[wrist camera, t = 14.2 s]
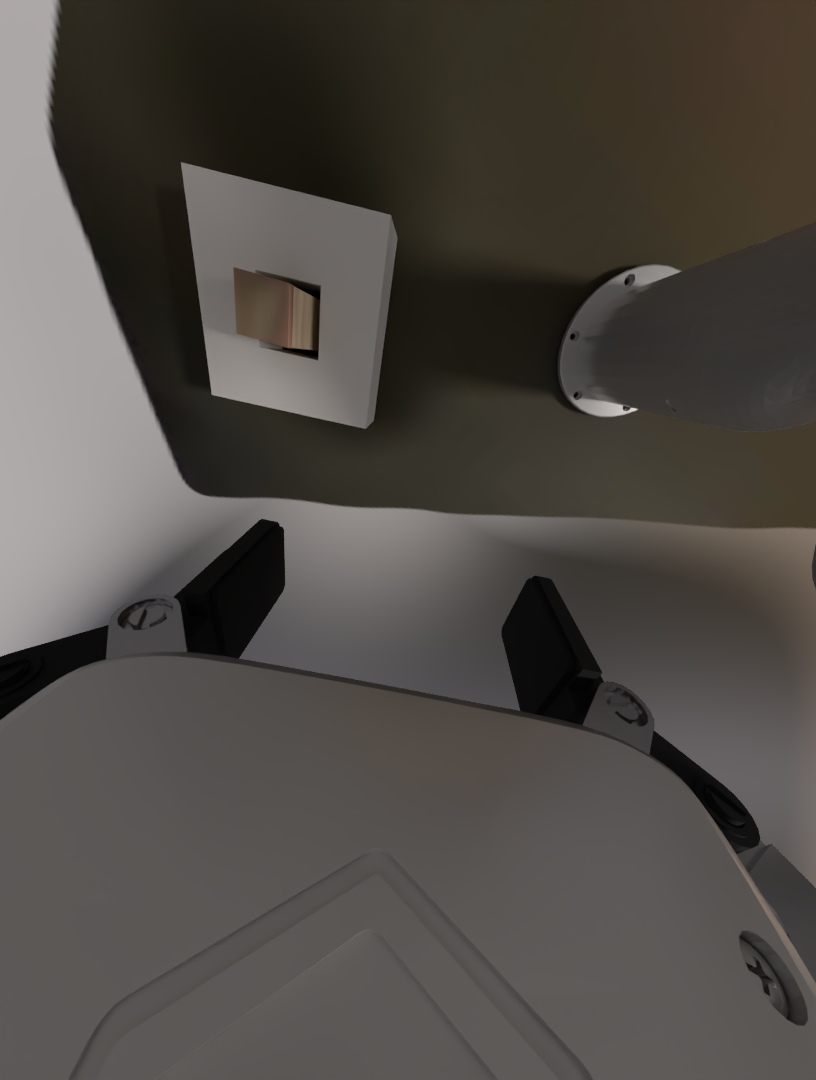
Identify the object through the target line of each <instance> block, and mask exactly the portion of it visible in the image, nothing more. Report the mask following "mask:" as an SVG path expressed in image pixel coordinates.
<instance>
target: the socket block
mask: <svg viewBox="0 0 816 1080" xmlns="http://www.w3.org/2000/svg"><path fill="white" fill-rule="evenodd" d="M181 167H182V174H183V182H184V189H185V197H186V204H187V212H188V219H189V227H190V234H191V241H192V249H193V256H194V264H195V271H196V279H197V286H198V294H199V301H200V309H201V316H202V324H203V331H204V339H205V346H206V354H207V361H208V369H209V376H210V384H211V391H212V395H215V396H220V397H224V398H229V399H233V400H238V401H242V402H247V403H251V404H256V405H260V406H265V407H269V408H274V409H278V410H283V411H287V412H292V413H296V414H301V415H305V416H310V417H314V418H319V419H323V420H328V421H332V422H337V423H341V424H346V425H350V426H355V427H359V428H364V429H366V428H367V427H368V426H369V425H370V424H371V423H372V422H373V421H374V415H375V408H376V400H377V392H378V385H379V377H380V369H381V362H382V354H383V346H384V338H385V331H386V323H387V315H388V308H389V300H390V292H391V285H392V277H393V269H394V261H395V254H396V246H397V235H396V231H395V228H394V224H393V221H392V217H391V215H389V214H385V213H381V212H377V211H373V210H369V209H365V208H361V207H357V206H353V205H349V204H345V203H341V202H337V201H333V200H329V199H325V198H321V197H317V196H313V195H309V194H305V193H301V192H297V191H293V190H289V189H285V188H281V187H277V186H273V185H270V184H266V183H262V182H258V181H254V180H250V179H246V178H242V177H238V176H234V175H230V174H226V173H222V172H218V171H214V170H210V169H206V168H202V167H198V166H194V165H190V164H186V163H182V162H181ZM233 267H236V268H239V269H243V270H246V271H249V272H253V273H256V274H260V275H263V276H266V277H270V278H273V279H277V280H280V281H284V282H287V283H290V284H292V285H294V286H296V287H300V288H304V289H308V290H312V291H317V292H321V297H320V326H319V355H318V357H315V356H310V355H306V354H302V353H297V352H293V351H289V350H284V349H282V346H279V345H276V344H272V343H269V342H265V341H261V340H258V339H254V338H251V337H247V336H243V335H240V334H237V332H236V312H235V293H234V273H233Z"/></svg>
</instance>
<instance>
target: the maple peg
mask: <svg viewBox="0 0 816 1080" xmlns="http://www.w3.org/2000/svg"><path fill="white" fill-rule="evenodd" d="M233 273H234V293H235V312H236V332H237V334H240V335H243V336H247V337H251V338H254V339H258V340H261V341H265V342H269V343H272V344H276V345H279V346H283V347H286V348H297V349H307V350H317V351H319V326H320V300H318V299H317V298H315V297H313V296H311V295H309V294H307V293H306V292H304V291H302V290H300V289H298V288H296V287H295V286H294V285H292V284H290V283H287V282H284V281H280V280H277V279H273V278H270V277H266V276H263V275H260V274H256V273H253V272H249V271H246V270H243V269H239V268H236V267H233Z"/></svg>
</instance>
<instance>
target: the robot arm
mask: <svg viewBox="0 0 816 1080" xmlns="http://www.w3.org/2000/svg"><path fill="white" fill-rule="evenodd" d="M625 279H626V280H627V283H626V285H625V284H624V281H625ZM571 334H573V335H574V337H573V339H572V340H571V339H570V335H571ZM557 370H558V380H559V383H560V387H561V390H562V391H563V393H564V395H565V397H566V399H567V400H568V401H569V402H570V403H571V404H572V405H573V406H574V407H575V408H577V409H579V410H580V411H582V412H584V413H587V414H589V415H593V416H598V417H616V416H622V415H625V414H628V413H631V412H634V411H637V410H638V409H640V410H644V411H648V412H653V413H657V414H662V415H666V416H670V417H675V418H679V419H683V420H688V421H692V422H696V423H701V424H705V425H710V426H716V427H720V428H725V429H730V430H736V431H747V432H763V431H773V430H780V429H786V428H791V427H796V426H800V425H803V424H807V423H810V422H813V421H816V222H815V223H812V224H809V225H807V226H804V227H801V228H798V229H796V230H794V231H791V232H788V233H785V234H782V235H780V236H777V237H774V238H772V239H769V240H766V241H763V242H760V243H758V244H755V245H752V246H750V247H747V248H744V249H741V250H739V251H736V252H733V253H730V254H728V255H725V256H722V257H720V258H717V259H714V260H711V261H709V262H706V263H703V264H700V265H698V266H695V267H692V268H690V269H687V270H684V271H681V270H679V269H676V268H674V267H672V266H669V265H660V264H651V265H643V266H639V267H636V268H633V269H630V270H627V271H625V272H623V273H621V274H619V275H617V276H615V277H613V278H611V279H610V280H608V281H607V282H605V283H604V284H602V285H601V286H600V287H598V288H597V289H596V290H595V291H594V292H593V293H592V294H591V295H590V296H589V297H588V298H587V299H586V300H585V301H584V302H583V304H582V305H581V306H580V307H579V308H578V310H577V311H576V313H575V314H574V316H573V318H572V319H571V321H570V323H569V324H568V326H567V329H566V331H565V333H564V336H563V338H562V341H561V345H560V349H559V353H558V363H557ZM575 392H576V393H577V395H576V396H575V397H573V396H574V394H575ZM623 406H624V407H623ZM812 578H813V582H814V586H815V589H816V546H815V550H814V555H813V561H812ZM284 586H285V560H284V529H283V528H282V527H280V526H279V523H278V522H274V521H269V520H264V519H261V520H259V521H258V522H257V523H256V524H255V525H254V526H253V527H252V528H250V529H249V530H248V531H247V532H246V533H245V534H244V535H243V536H242V537H241V538H240V539H238V540H237V541H236V542H235V543H234V544H233V545H232V546H231V547H230V548H229V549H227V550H226V551H224V552H223V553H222V554H221V555H219V556H218V557H217V558H216V559H215V560H214V561H213V562H212V563H211V564H210V565H208V566H207V567H206V568H205V569H204V570H203V571H202V572H201V573H200V574H198V575H197V576H196V577H195V578H194V579H193V580H192V581H191V582H190V583H188V584H187V585H186V586H185V587H184V588H183V589H182V590H181V591H180V592H179V593H177V594H176V595H175V596H174V597H172V596H168V595H149V596H144V597H140V598H137V599H134V600H132V601H130V602H128V603H126V604H124V605H123V606H122V607H120V608H119V609H117V611H115V612H114V614H113V615H112V616H111V618H110V621H109V625H107V626H104V627H100V628H97V629H93V630H90V631H87V632H83V633H79V634H76V635H72V636H69V637H66V638H62V639H59V640H55V641H52V642H48V643H45V644H41V645H38V646H34V647H31V648H27V649H24V650H21V651H17V652H14V653H10V654H7V655H4V656H1V657H0V1080H816V888H815V887H814V886H813V885H812V884H811V883H810V882H809V881H808V880H807V879H806V878H805V877H804V876H803V875H802V874H801V873H800V872H799V871H798V870H797V869H796V868H795V867H794V866H793V865H792V864H791V863H790V862H789V861H788V860H787V859H786V858H785V857H784V856H783V855H782V854H781V853H780V852H779V851H778V850H777V849H776V848H775V847H774V846H773V845H772V844H770V845H767V846H765V845H764V844H763V843H762V842H761V841H760V835H759V831H758V828H757V826H756V824H755V822H754V820H753V818H752V816H751V815H750V813H749V812H748V810H747V809H746V808H745V806H744V805H743V804H742V803H741V802H740V801H739V800H738V798H737V797H736V796H735V795H734V794H733V793H732V792H730V791H729V790H728V789H727V788H726V787H725V786H724V785H723V784H721V783H720V782H719V781H718V780H716V779H715V778H714V777H712V776H711V775H710V774H709V773H707V772H706V771H705V770H704V769H702V768H701V767H700V766H698V765H697V764H696V763H695V762H693V761H692V760H691V759H689V758H688V757H687V756H686V755H684V754H683V753H682V752H680V751H679V750H678V749H677V748H676V747H674V746H673V745H672V744H670V743H669V742H668V741H667V740H665V739H664V738H663V737H661V736H660V735H659V734H658V733H656V732H655V731H654V719H653V716H652V714H651V712H650V710H649V709H648V707H647V706H646V704H645V703H644V702H643V701H642V700H641V699H640V698H639V697H638V696H637V695H636V694H634V693H633V692H632V691H631V690H629V689H627V688H626V687H624V686H622V685H620V684H617V683H615V682H608V681H607V682H604V681H603V679H602V677H601V676H600V675H601V674H602V671H601V669H600V668H599V666H598V664H597V662H596V660H595V658H594V657H593V655H592V653H591V651H590V649H589V648H588V646H587V644H586V642H585V640H584V638H583V636H582V635H581V633H580V631H579V629H578V627H577V626H576V624H575V622H574V620H573V618H572V616H571V614H570V613H569V611H568V609H567V607H566V605H565V603H564V601H563V600H562V598H561V596H560V594H559V592H558V591H557V589H556V587H555V585H554V583H553V581H552V580H551V579H549V578H544V577H539V576H534V577H532V579H530V578H529V579H528V580H527V581H526V583H525V585H524V587H523V588H522V590H521V592H520V594H519V596H518V598H517V600H516V602H515V604H514V606H513V608H512V609H511V611H510V613H509V615H508V617H507V619H506V621H505V623H504V625H503V627H502V639H503V643H504V647H505V650H506V655H507V659H508V663H509V667H510V671H511V674H512V678H513V683H514V686H515V691H516V695H517V698H518V703H519V707H520V711H517V710H512V709H507V708H502V707H497V706H492V705H487V704H482V703H476V702H471V701H466V700H461V699H456V698H451V697H446V696H440V695H435V694H430V693H425V692H419V691H414V690H409V689H404V688H398V687H393V686H387V685H382V684H377V683H372V682H366V681H361V680H355V679H350V678H345V677H339V676H334V675H329V674H323V673H317V672H312V671H307V670H301V669H296V668H290V667H284V666H279V665H274V664H267V663H262V662H256V661H250V660H243V659H239V657H240V656H241V654H242V653H243V651H244V650H245V648H246V647H247V645H248V644H249V642H250V641H251V639H252V638H253V636H254V635H255V633H256V631H257V630H258V628H259V627H260V625H261V624H262V622H263V621H264V619H265V618H266V616H267V615H268V613H269V612H270V610H271V609H272V607H273V605H274V604H275V603H276V601H277V599H278V598H279V596H280V595H281V593H282V592H283V590H284Z"/></svg>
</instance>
